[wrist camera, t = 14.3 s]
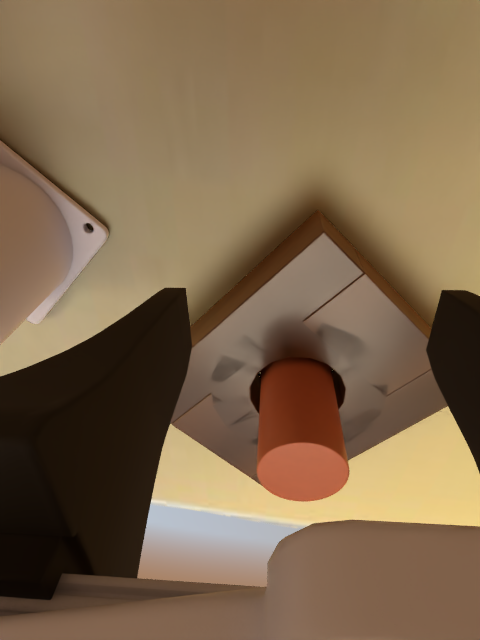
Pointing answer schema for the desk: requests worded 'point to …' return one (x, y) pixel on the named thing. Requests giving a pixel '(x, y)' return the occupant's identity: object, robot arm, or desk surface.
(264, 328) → the block with round hole
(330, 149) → the desk surface
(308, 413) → the peg
